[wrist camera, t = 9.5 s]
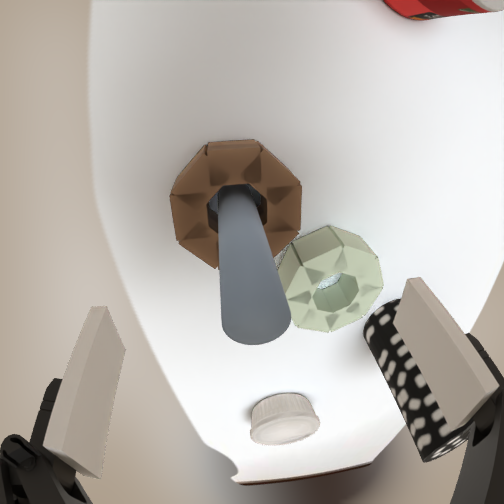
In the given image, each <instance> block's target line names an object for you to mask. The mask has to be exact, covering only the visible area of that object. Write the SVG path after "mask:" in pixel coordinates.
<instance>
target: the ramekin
mask: <svg viewBox="0 0 504 504" xmlns="http://www.w3.org/2000/svg"><path fill="white" fill-rule="evenodd" d="M319 426H320V421H319V418H318V416H317V415H316V414H315V412H314V410H313V408H312V406H311V404H310V402H309V400H308V399H307V398H305V397H303V396H301V395H299V394H293V393H284V394H278V395H274V396H271V397H268V398H266V399H264V400H262V401H260V402H259V403H258V404H257V405H256V406H255V408H254V409H253V411H252V422H251V430H250V436H251V439H252V440H253V441H254V442H256V443H258V444H262V445H285V444H290V443H294V442H297V441H300V440H303V439H305V438H307V437H309V436H311V435H312V434H314V433H315V432H316V431H317V430H318V428H319Z"/></svg>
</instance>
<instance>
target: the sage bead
mask: <svg viewBox="0 0 504 504" xmlns="http://www.w3.org/2000/svg"><path fill="white" fill-rule="evenodd" d="M277 271H278V274H279V277H280V280H281V283H282V286H283V289H284V292H285V295H286V298H287V302H288V305H289V308H290V311H291V318H292V320H293V322H294V324H295V326H297V327H298V328H303V329H309V330H315V331H321V332H327V333H328V332H329V331H331V332H333V331H335V330H337V329H339V328H341V327H344V326H346V325H348V324H350V323H352V322H354V321H356V320H359V319H361V318H363V317H362V315H364V316H365V315H366V313H367V312H368V310H369V309H370V307H371V306H372V304H373V303H374V301H375V300H376V298H377V297H378V295H379V294H380V292H381V291H382V289H383V287H382V286H384V284H383V278H382V273H381V269H380V264H379V259H378V257H377V256H376V254H375V253H374V252H373V251H372V250H371V248H370V247H369V246H368V245H367V244H366V243H365V242H364V240H363V239H362V238H361V237H360V236H358V235H355V234H352V233H349V232H347V231H344V230H341V229H338V228H335V227H332V226H330V227H329V228H328V226H326V227H323V228H321V229H319V230H317V231H315V232H313V233H310V234H308V235H306V236H304V237H302V238H299V239H297V240H295V241H293V245H292V244H290V245H289V247H288V249H287V251H286V253H285V255H284V258H283V260H282V262H281V264H280V266H279V268H278V270H277ZM339 272H340V273H343V274H342V275H341V277H340V279H339V281H338V282H337V283H335V284H333V285H331V286H329V287H327V288H324V289H317V287H318V286H319V284H320V282H321V281H322V280H324V279H326V278H329V277H331V276H333V275H335V274H337V273H339Z"/></svg>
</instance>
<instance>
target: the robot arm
mask: <svg viewBox="0 0 504 504" xmlns="http://www.w3.org/2000/svg"><path fill="white" fill-rule="evenodd" d="M393 324H394V326H395V327H396V329H397V331H398V332H399V334H400V336H401V338H402V339H403V341H404V343H405V344H406V346H407V348H408V350H409V351H410V353H411V355H412V357H413V358H414V360H415V362H416V364H417V366H418V367H419V369H420V371H421V373H422V375H423V377H424V378H425V380H426V382H427V384H428V386H429V388H430V390H431V392H432V394H433V395H434V397H435V399H436V401H437V403H438V405H439V407H440V409H441V411H442V413H443V415H444V417H445V419H446V421H447V423H448V426H449V428H450V430H451V431H453V430H455V429H457V428H459V427H461V426H463V425H465V424H466V423H467V422H468V421H469V420H470V419H471V418H473V420H474V422H473V423H472V424H471V425H470V426H469V427H468V428H467V429H466V430H465V431H464V432H463V435H462V436H465V435H466V434H467V433H468V432H469V431H470V433H469V435H468V436H467V437H469V439H468V443H467V448H466V452H465V456H464V460H463V464H462V468H461V471H460V475H459V479H458V482H457V484H456V488H455V491H454V494H453V497H452V499H451V502H450V504H504V378H503V376H502V374H501V373H500V371H499V370H498V368H497V367H496V365H495V364H494V362H493V361H492V360H491V358H490V357H489V355H488V354H487V352H486V351H484V348H483V346H482V345H481V344H480V342H479V341H478V340H477V339H476V338H475V337H474V336H472V335H471V334H470V333H467V334H464V332H463V331H462V330H461V328H460V327H459V326H458V324H457V323H456V322H455V320H454V319H453V318H452V316H451V315H450V314H449V312H448V311H447V310H446V308H445V307H444V306H443V305H442V303H441V302H440V301H439V300H438V298H437V297H436V296H435V295H434V293H433V292H432V291H431V290H430V288H429V287H428V286H427V285H426V284H425V282H424V281H423V280H422V279H421V278H420V277H417V278H411V279H407V282H406V285H405V288H404V291H403V295H402V298H401V301H400V304H399V307H398V310H397V313H396V316H395V319H394V321H393ZM125 351H126V349H125V347H124V345H123V343H122V341H121V338H120V336H119V334H118V332H117V329H116V327H115V325H114V323H113V320H112V318H111V315H110V313H109V311H108V308H107V306H98V307H91V309H90V312H89V314H88V316H87V318H86V320H85V323H84V325H83V328H82V330H81V332H80V335H79V337H78V340H77V342H76V345H75V347H74V350H73V352H72V355H71V358H70V360H69V363H68V366H67V369H66V371H65V374H64V377H63V379H57V378H54V379H53V381H52V382H51V383H50V384H49V386H48V387H47V389H46V391H45V394H44V397H43V401H42V403H41V406H40V411H39V412H38V415H37V419H36V422H35V425H34V428H33V432H32V435H31V439H30V442H28V441H27V440H25V439H24V438H23V437H21V436H20V435H16V434H12V435H9V436H8V437H6V438H5V439H4V441H3V443H2V444H1V448H0V504H93V503H92V502H91V500H90V499H89V497H88V496H87V494H86V492H85V491H84V489H83V487H82V486H81V484H80V482H79V481H78V479H77V478H76V477H75V474H76V471H77V472H79V473H80V474H82V475H83V476H87V477H92V478H97V479H101V477H102V469H103V461H104V455H105V448H106V442H107V436H108V430H109V425H110V419H111V414H112V409H113V404H114V399H115V394H116V389H117V384H118V380H119V376H120V371H121V367H122V363H123V359H124V355H125Z"/></svg>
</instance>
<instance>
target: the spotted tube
mask: <svg viewBox="0 0 504 504" xmlns="http://www.w3.org/2000/svg"><path fill="white" fill-rule="evenodd" d="M400 301H401V299H398V300H394V301H391V302H388V303H387V304H385V305H383V306H382V307H380V308H379V309H377V310H376V311H375V312H374V313H373V314H372V315H371V316H370V318H369V319H368V321H367V322H366V324H365V327H364V331H363V335H364V338H365V340H366V342H367V344H368V346H369V348H370V350H371V352H372V354H373V356H374V357H375V359H376V361H377V363H378V365H379V367H380V369H381V371H382V373H383V376H384V378H385V380H386V382H387V384H388V386H389V388H390V390H391V392H392V394H393V396H394V398H395V400H396V403H397V405H398V407H399V409H400V411H401V413H402V415H403V418H404V420H405V422H406V424H407V426H408V429H409V431H410V433H411V435H412V437H413V440H414V442H415V445H416V447H417V449H418V451H419V454H420V456H421V459H422V461H423V462H424V463H425V462H429V461H432V460H434V459H437V458H439V457H441V456H443V455H445V454H446V453H448V452H450V451H452V450H453V449H455V448H456V447H458V446H459V445H461V444H462V443H464V442H465V441H466V440H468V439H469V437H467V436H468V435H469V433H470V431H469V432H468V433H467V434H466V435H465V436H462V435H463V432H464V431H465V430H466V429H467V428H468V427H469V426H470V425H471V424H472V423H473V422H474V420H473V418H471V419H470V420H469V421H468V422H467V423H466V424H465V425H463V426H461V427H459V428H457V429H455V430H453V431H451V430H450V428H449V426H448V423H447V421H446V419H445V417H444V415H443V413H442V411H441V409H440V407H439V405H438V403H437V401H436V399H435V397H434V395H433V394H432V392H431V390H430V388H429V386H428V384H427V382H426V380H425V378H424V377H423V375H422V373H421V371H420V369H419V367H418V366H417V364H416V362H415V360H414V358H413V357H412V355H411V353H410V351H409V350H408V348H407V346H406V344H405V343H404V341H403V339H402V338H401V336H400V334H399V332H398V331H397V329H396V327H395V326H394V324H393V321H394V319H395V316H396V313H397V310H398V307H399V304H400Z"/></svg>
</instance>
